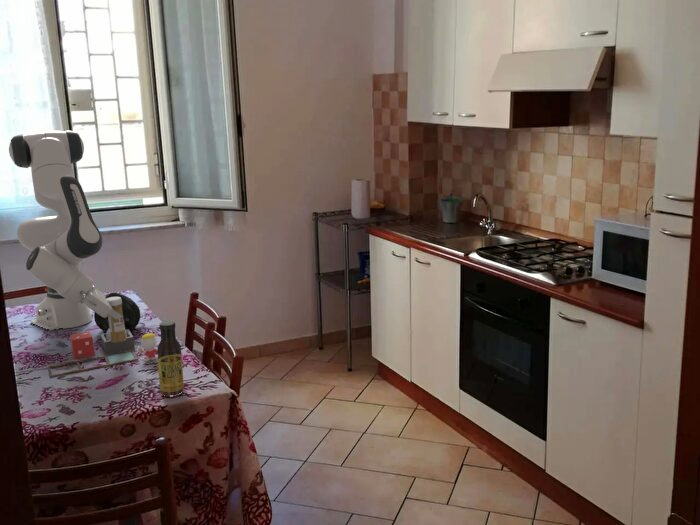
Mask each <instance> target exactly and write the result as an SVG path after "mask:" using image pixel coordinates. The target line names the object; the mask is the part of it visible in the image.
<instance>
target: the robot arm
mask: <svg viewBox="0 0 700 525" xmlns="http://www.w3.org/2000/svg"><path fill="white" fill-rule="evenodd" d="M84 151H85V146H84V141H83V139H82V137H81V136H80V134H79V133H78V132H76V131H73V130H65V131H64V130H63V131H62V130H45V131H41V132H33V133H27V134H23V133H21V134H18V135H14V136H12V138H11V139H10V142H9V147H8V153H9V156H10V159H11V160H12V161H13V163H14V165H15V166H17V167H18V168H24V169H29V168H30V169H31V178H32V179H31V180H32V185H33V191H34V198H35V200H36V202H37V204H38V205H40V206H42V207H44V208H46V209H48V210H51V211H54V212H55V213H56V214H55V215H49V216H47V215H46V216H37V217H33V218H29V219H27V220H23V221H21V222H20V224H19V225H18V228H17V230H16V233H17V234H16V236H17V239H18V242H19V243H20V244H21V246H23V248H25V249H27V250H28V251H31V252H30V254H29V256H28V258H27V260H26V263H25V268H26V270H27V272H28V273H29V274H30V275H31V276H32V277H33V278H35V279H36V280H38V281H39V282H40V283H41V284H43V285H44V286H46V287H44V289H45V290H44V291H45V292H46V297H45V298H44V299H43V300H42V301H41V302H39V304H38V305H37V306H36V310H35V311H36V317H34V318H32V319H31V320H30V321H29V322H31V323H34V324H36V325H39V326H42V327H44V328H47V329H49V330H48V331H55V330H54V329H56V330H60V329H59V328H63V329H71V328H77V327H81V326H84V325H86V324H88V323H90V322H92V320H93V316H94V313H93V312H96V313H97V314H99V315H100V316H102V317H104V318H106V317H107V316H108V315H109V316H112V317H113V318H115V319H119V317H120V316H121V315H120V314H119V313H118V312H117V311H115V310H113V309H112V307H111V305H110V304H109V302H108V301H107V300H106V298H105V297H106V296H105V295H104V293H103V292H102V291H101V290H100V289H99V288H98V287H96V286H95V285H94V284H93V283H94V279H93V278H92V277H90V276H88V275H87V274H86V273H84V272H83V271H81V263H82V262H84V261H85V260H87V259H88V258H90V257H92V256H93V255H95V254H97V253H99V252H100V250H101V248H102V246H103V236H102V233H101V231H100V229H99V228H98V224H97V222H96V220H95V219H94V217H93V216H92V212H91V211H90V207H89V203H88V201H87V197H86V195H85V192H84V188H83V187H82V185H81V183H80V181H79V180H78V179H77V178H75V176H74V172H73V167H72V164H75V163H77V162H80V161H81V160H82V158H83V155H84ZM92 311H93V312H92ZM92 315H93V316H92ZM36 325H35V326H36ZM44 328H43V329H44ZM47 329H46V330H47Z"/></svg>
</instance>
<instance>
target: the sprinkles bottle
mask: <svg viewBox="0 0 700 525" xmlns="http://www.w3.org/2000/svg"><path fill="white" fill-rule="evenodd" d="M106 300H107V301H108V302H109V304H110V305H111V307H112V309H113V310H115V311H117V312H118V313H119V314H120V315H121V316H120V317H119V319H115V318H113V317H112V316H109V315H108V321H109V328H110V333H111V342H114V343H118V342H122V341H125V340H126V335H125V325H124V319H123V312H122V299H121V297H110V298H107V299H106Z"/></svg>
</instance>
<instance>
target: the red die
mask: <svg viewBox="0 0 700 525" xmlns="http://www.w3.org/2000/svg"><path fill="white" fill-rule="evenodd" d="M69 337H70V345H71V350H72V351H71V352H72V355H73V358H74V359H80V358H85V357H92V356H96V353H95V351H96V350H95V345H94V338H93V335H92V333H91V331H84V332H80V333H78V332H77V333H73V334H70V335H69Z"/></svg>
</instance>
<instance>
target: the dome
mask: <svg viewBox="0 0 700 525" xmlns="http://www.w3.org/2000/svg"><path fill="white" fill-rule="evenodd" d="M125 335H126V337H127V331H126V330H125ZM106 339H107V341H109V340H111V333H110V328H109V329H108V331H107V332H106Z"/></svg>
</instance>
